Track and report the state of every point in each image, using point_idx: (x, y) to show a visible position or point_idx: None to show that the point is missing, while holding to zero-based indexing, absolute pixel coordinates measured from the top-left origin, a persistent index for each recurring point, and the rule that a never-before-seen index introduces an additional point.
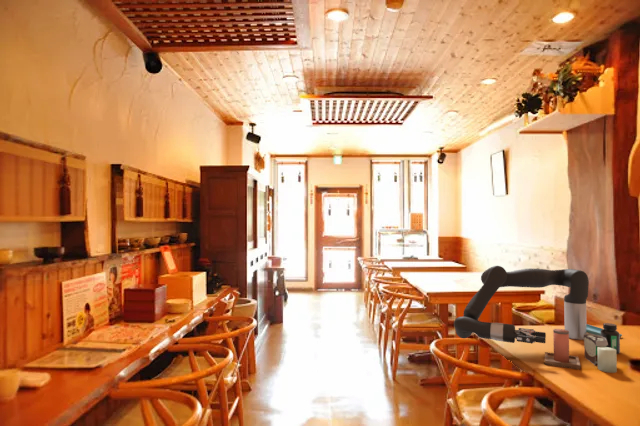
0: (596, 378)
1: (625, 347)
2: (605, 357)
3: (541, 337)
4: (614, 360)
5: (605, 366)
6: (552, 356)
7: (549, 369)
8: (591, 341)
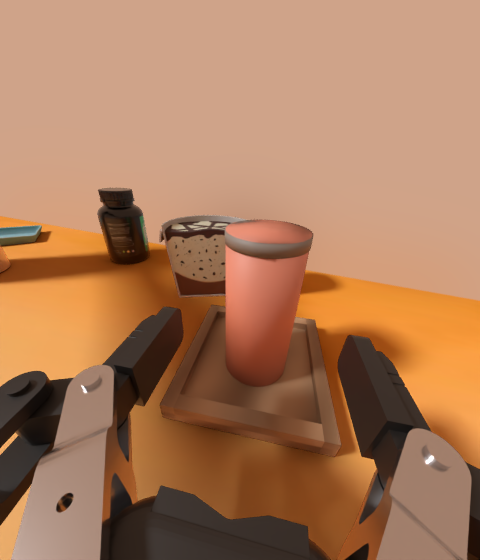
0: (365, 315)
1: None
2: None
3: (378, 359)
4: None
5: None
6: (203, 381)
7: None
8: (222, 237)
